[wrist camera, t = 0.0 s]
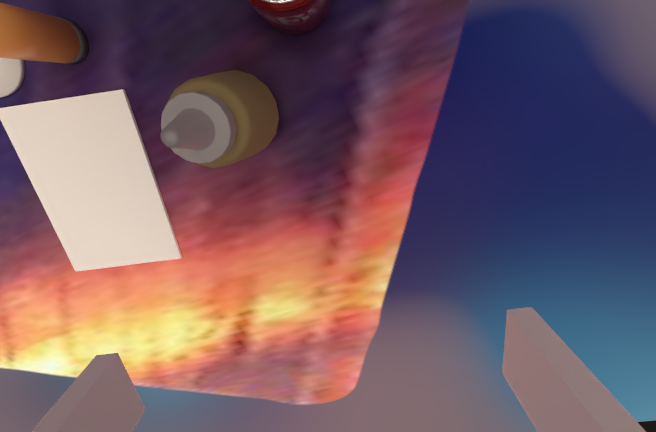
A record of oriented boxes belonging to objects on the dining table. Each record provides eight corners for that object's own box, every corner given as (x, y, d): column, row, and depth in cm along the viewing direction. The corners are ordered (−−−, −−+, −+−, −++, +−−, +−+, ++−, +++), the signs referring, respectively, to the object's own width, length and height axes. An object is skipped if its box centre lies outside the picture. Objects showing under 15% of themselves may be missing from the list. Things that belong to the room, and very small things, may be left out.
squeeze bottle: (283, 152, 36) (245, 209, 20) (210, 147, 36) (110, 201, 20) (284, 74, 33) (241, 63, 17) (205, 68, 33) (81, 51, 17)
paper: (-2, 108, 35) (-5, 108, 34) (124, 89, 34) (122, 89, 34) (77, 269, 42) (75, 271, 42) (182, 256, 41) (181, 258, 41)
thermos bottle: (37, 21, 32) (-152, -22, 19) (79, 14, 31) (-86, -33, 19) (57, 67, 33) (-107, 57, 21) (96, 61, 33) (-45, 47, 20)
